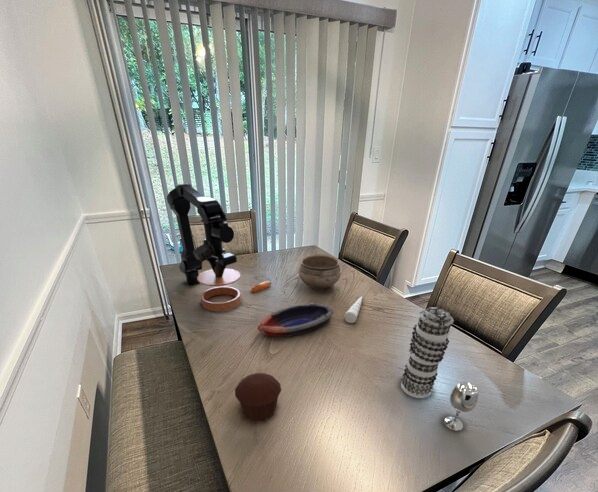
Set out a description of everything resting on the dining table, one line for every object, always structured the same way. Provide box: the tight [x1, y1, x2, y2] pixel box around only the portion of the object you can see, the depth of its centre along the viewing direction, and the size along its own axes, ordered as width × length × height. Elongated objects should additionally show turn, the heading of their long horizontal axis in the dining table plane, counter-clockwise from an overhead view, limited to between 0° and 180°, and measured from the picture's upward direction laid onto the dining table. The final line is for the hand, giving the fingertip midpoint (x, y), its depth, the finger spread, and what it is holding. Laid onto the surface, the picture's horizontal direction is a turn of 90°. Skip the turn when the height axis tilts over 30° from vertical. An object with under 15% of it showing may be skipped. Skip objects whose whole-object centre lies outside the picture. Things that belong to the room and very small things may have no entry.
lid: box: [197, 266, 241, 287], centre depth 128 cm, size 17×17×5 cm
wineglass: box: [443, 381, 479, 431], centre depth 78 cm, size 6×6×12 cm
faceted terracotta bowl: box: [200, 285, 242, 312], centre depth 133 cm, size 16×16×4 cm
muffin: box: [234, 372, 282, 422], centre depth 83 cm, size 12×11×10 cm
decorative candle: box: [400, 306, 455, 399], centre depth 86 cm, size 9×9×25 cm
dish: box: [257, 303, 334, 337], centre depth 119 cm, size 16×31×5 cm, turn 118°
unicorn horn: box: [343, 295, 363, 324], centre depth 130 cm, size 5×24×5 cm, turn 156°
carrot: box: [250, 280, 272, 293], centre depth 145 cm, size 11×3×3 cm, turn 138°
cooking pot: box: [298, 253, 342, 290], centre depth 146 cm, size 25×19×12 cm
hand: (218, 275), depth 129 cm, fingers closed on lid, 3 cm apart
